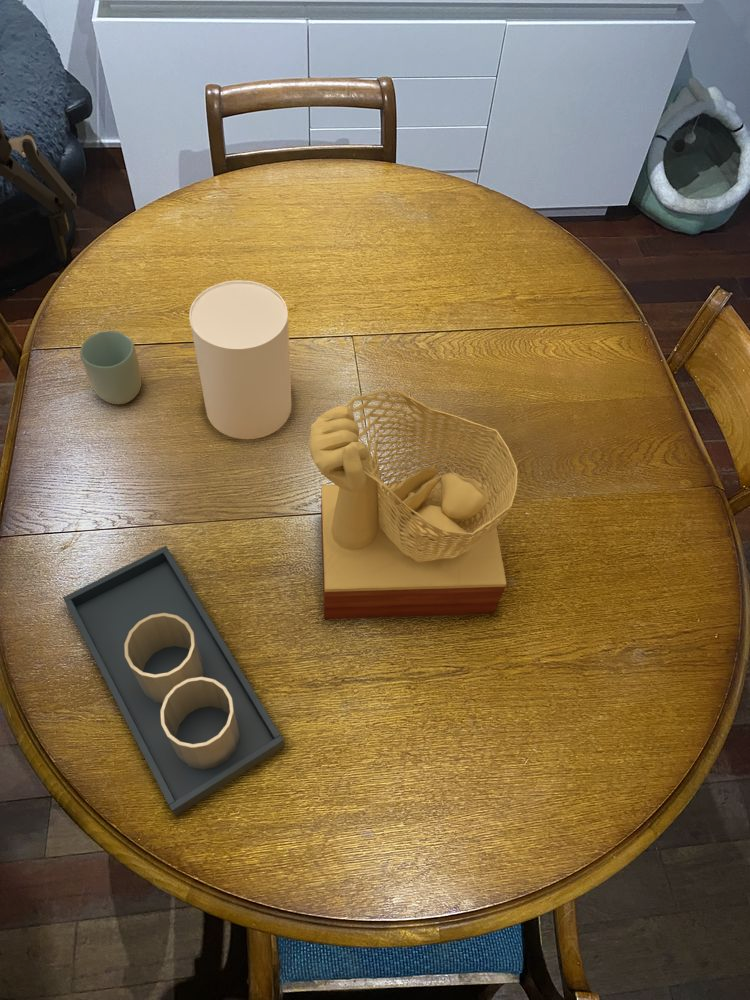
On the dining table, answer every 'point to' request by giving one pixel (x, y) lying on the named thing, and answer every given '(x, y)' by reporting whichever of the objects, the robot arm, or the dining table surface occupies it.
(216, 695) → the cup
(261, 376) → the canister
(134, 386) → the cup
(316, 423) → the basket
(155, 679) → the cup
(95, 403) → the dining table surface
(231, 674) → the tray
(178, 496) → the dining table surface
